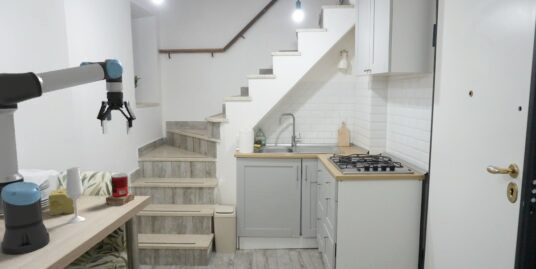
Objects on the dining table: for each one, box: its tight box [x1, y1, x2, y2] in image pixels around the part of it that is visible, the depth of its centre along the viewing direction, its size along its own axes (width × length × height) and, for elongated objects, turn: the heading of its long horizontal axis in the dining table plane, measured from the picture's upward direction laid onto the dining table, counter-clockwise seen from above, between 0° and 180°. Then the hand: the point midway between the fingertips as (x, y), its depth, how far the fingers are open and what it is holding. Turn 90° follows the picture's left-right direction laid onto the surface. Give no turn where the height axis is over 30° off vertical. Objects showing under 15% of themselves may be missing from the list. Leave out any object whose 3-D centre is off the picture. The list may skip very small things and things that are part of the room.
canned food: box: [110, 172, 129, 197], centre depth 181 cm, size 8×8×11 cm
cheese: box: [48, 188, 75, 216], centre depth 167 cm, size 10×11×10 cm
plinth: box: [105, 192, 135, 206], centre depth 182 cm, size 10×10×3 cm
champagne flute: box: [65, 166, 86, 224], centre depth 154 cm, size 7×7×24 cm
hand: (117, 133), depth 173 cm, fingers open, 13 cm apart
